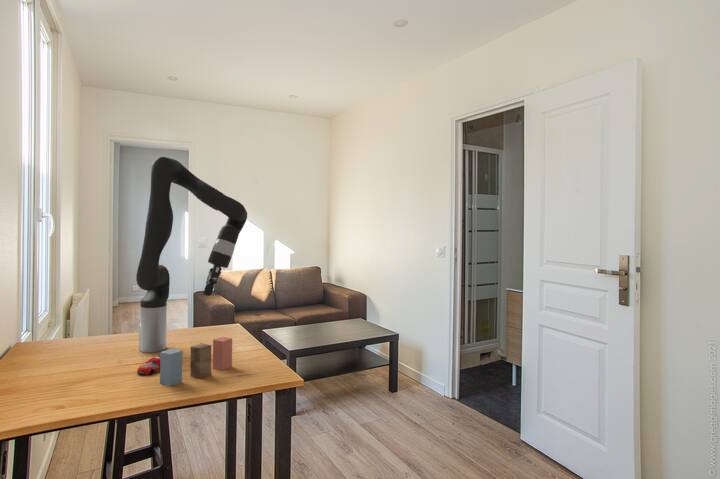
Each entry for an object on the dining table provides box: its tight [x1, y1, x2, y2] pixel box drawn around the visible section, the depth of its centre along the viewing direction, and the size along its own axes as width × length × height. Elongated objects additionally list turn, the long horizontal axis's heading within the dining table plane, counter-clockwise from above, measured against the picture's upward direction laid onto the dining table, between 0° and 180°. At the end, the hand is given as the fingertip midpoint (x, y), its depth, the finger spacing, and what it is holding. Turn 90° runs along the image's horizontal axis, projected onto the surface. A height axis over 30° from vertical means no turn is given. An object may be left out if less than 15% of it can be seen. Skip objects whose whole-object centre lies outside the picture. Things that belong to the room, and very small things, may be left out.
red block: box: [212, 336, 233, 371], centre depth 147 cm, size 4×4×10 cm
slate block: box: [159, 348, 183, 387], centre depth 132 cm, size 4×4×10 cm
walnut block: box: [189, 342, 212, 380], centre depth 139 cm, size 4×4×10 cm
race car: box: [136, 355, 160, 376], centre depth 144 cm, size 13×5×4 cm, turn 163°
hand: (206, 295), depth 153 cm, fingers open, 8 cm apart
